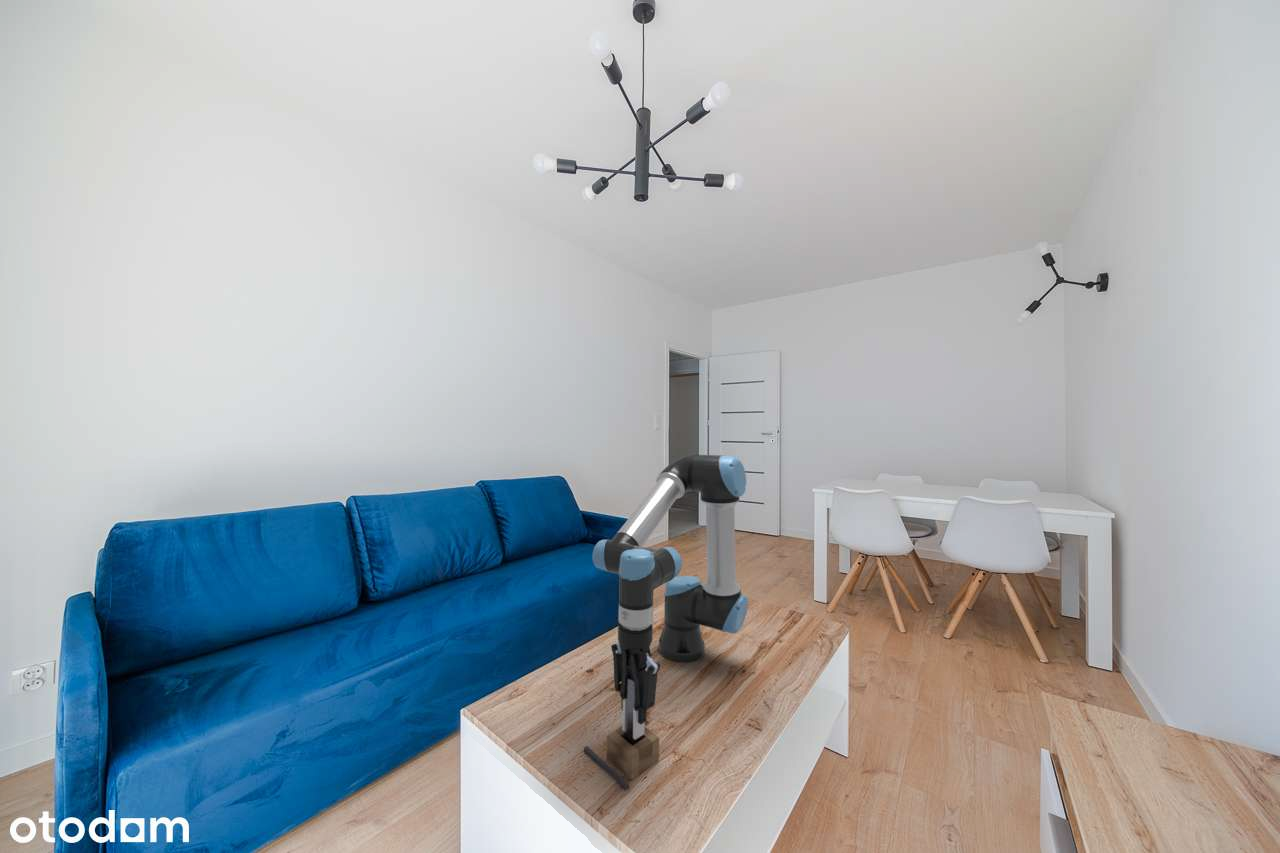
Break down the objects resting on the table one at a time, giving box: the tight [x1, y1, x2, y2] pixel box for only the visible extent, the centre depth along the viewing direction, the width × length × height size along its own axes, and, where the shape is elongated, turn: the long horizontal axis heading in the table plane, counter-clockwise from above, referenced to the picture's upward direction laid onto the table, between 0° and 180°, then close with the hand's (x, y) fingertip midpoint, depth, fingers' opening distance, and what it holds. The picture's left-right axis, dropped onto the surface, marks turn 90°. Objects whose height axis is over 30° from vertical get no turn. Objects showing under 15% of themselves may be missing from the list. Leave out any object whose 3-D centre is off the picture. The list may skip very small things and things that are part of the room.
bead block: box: [606, 725, 660, 781], centre depth 94 cm, size 8×8×5 cm
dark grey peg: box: [626, 675, 639, 746], centre depth 94 cm, size 3×3×14 cm
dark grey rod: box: [583, 745, 630, 791], centre depth 91 cm, size 14×1×1 cm, turn 44°
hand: (633, 731), depth 94 cm, fingers closed on dark grey peg, 3 cm apart
